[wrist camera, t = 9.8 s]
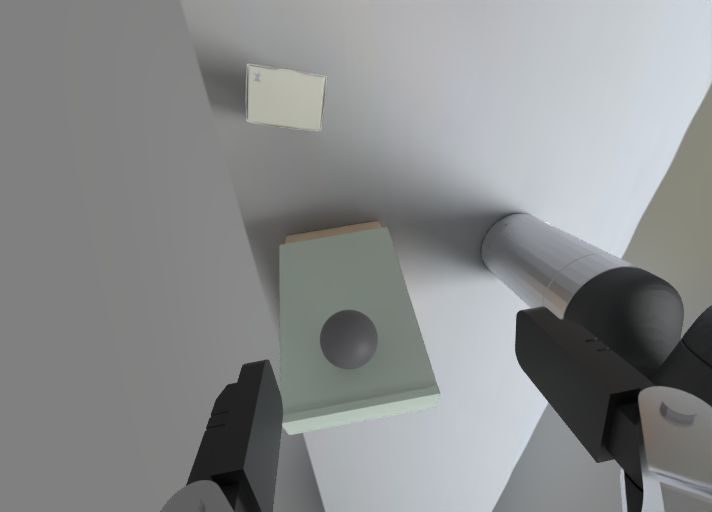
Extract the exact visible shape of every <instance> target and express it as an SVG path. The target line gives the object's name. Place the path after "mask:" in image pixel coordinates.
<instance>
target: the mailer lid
mask: <svg viewBox="0 0 712 512" xmlns="http://www.w3.org/2000/svg"><path fill="white" fill-rule="evenodd" d="M279 292H280V394H281V398H282V404H283V421H282V427H283V428H284V429H285V430H286V431H287V433H288V434H289V435H292V434H297V433H303V432H308V431H313V430H318V429H324V428H329V427H334V426H339V425H345V424H350V423H355V422H360V421H366V420H371V419H376V418H381V417H387V416H392V415H397V414H402V413H408V412H413V411H418V410H423V409H429V408H434V407H437V403H438V400H439V396H440V391H439V388H438V386H437V383H436V380H435V376H434V373H433V370H432V367H431V364H430V360H429V357H428V354H427V351H426V348H425V344H424V341H423V338H422V335H421V332H420V328H419V325H418V322H417V319H416V316H415V313H414V309H413V306H412V303H411V300H410V297H409V293H408V290H407V287H406V284H405V281H404V277H403V274H402V271H401V268H400V265H399V261H398V258H397V255H396V252H395V249H394V246H393V242H392V239H391V236H390V233H389V230H388V227H383V228H377V229H371V230H365V231H359V232H353V233H347V234H341V235H336V236H330V237H324V238H318V239H312V240H306V241H300V242H294V243H288V244H282V245H279Z"/></svg>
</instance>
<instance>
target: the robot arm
mask: <svg viewBox="0 0 712 512" xmlns="http://www.w3.org/2000/svg"><path fill="white" fill-rule="evenodd" d="M481 251H482V259H483V262H484V263H485V265H486V267H487V268H488V269H489V270H490V271H491V272H492V273H494V274H495V275H496V276H497V277H498V278H499V279H500V280H501V281H502V282H503V283H504V284H505V285H506V286H507V287H509V288H510V289H511V290H512V291H513V292H514V293H515V294H516V295H517V296H518V297H519V298H520V299H522V300H523V301H524V302H525V303H526V304H527V305H528V306H529V307H530V308H531V309H526V310H521V311H519V312H518V313H517V317H516V342H515V352H516V357H517V360H518V362H519V364H520V366H521V368H522V369H523V371H524V372H525V373H526V374H527V376H528V377H529V378H530V379H531V381H532V382H533V383H534V384H535V386H536V387H537V388H538V389H539V391H540V392H541V393H542V394H543V396H544V397H545V398H546V400H547V401H548V402H549V403H550V404H551V406H552V407H553V408H554V410H555V411H556V412H557V413H558V414H559V416H560V417H561V418H562V420H563V421H564V422H565V423H566V425H567V426H568V427H569V428H570V429H571V431H572V432H573V433H574V434H575V436H576V437H577V438H578V440H579V441H580V442H581V443H582V445H583V446H584V447H585V448H586V449H587V451H588V452H589V453H590V455H591V456H592V457H593V458H594V460H595V461H596V462H597V463H599V462H604V461H608V460H613V459H615V460H616V461H617V463H618V464H619V465H620V466H621V467H622V468H621V472H620V481H621V495H622V508H623V512H712V306H710V307H709V308H707V309H706V310H705V311H704V312H703V313H702V314H701V315H700V316H699V317H698V318H697V319H696V321H695V322H694V323H693V325H692V326H691V327H690V328H689V329H688V331H687V332H686V333H685V335H684V336H683V338H682V339H681V331H682V326H683V319H684V308H683V303H682V300H681V297H680V295H679V294H678V292H677V291H676V290H675V288H674V287H672V286H671V285H670V284H669V283H668V282H666V281H665V280H663V279H661V278H659V277H657V276H655V275H653V274H651V273H649V272H647V271H645V270H643V269H640V268H638V267H636V266H634V265H632V264H630V263H628V262H626V261H624V260H622V259H620V258H618V257H616V256H613V255H611V254H609V253H607V252H605V251H603V250H601V249H599V248H597V247H595V246H593V245H591V244H589V243H587V242H585V241H583V240H581V239H579V238H576V237H574V236H572V235H570V234H568V233H566V232H564V231H562V230H560V229H558V228H556V227H554V226H552V225H550V224H548V223H546V222H544V221H542V220H540V219H538V218H536V217H534V216H531V215H528V214H522V213H520V214H513V215H509V216H506V217H505V218H503V219H501V220H499V221H498V222H497V223H495V224H494V225H493V226H492V227H491V228H490V230H489V231H488V233H487V234H486V236H485V238H484V240H483V243H482V249H481ZM680 339H681V340H680ZM282 421H283V404H282V398H281V394H280V391H279V388H278V385H277V382H276V379H275V376H274V373H273V370H272V367H271V365H270V362H269V360H263V361H257V362H252V363H247V364H244V365H243V366H242V368H241V372H240V375H239V378H238V382H237V383H233V384H228V385H227V386H226V387H225V389H224V390H223V391H222V393H221V394H220V395H219V396H218V398H217V399H216V401H215V404H214V407H213V410H212V413H211V418H209V421H208V424H207V427H206V429H207V430H206V431H205V433H204V436H203V439H202V442H201V445H200V447H199V450H198V453H197V456H196V459H195V462H194V465H193V467H192V470H191V473H190V476H189V479H188V482H187V484H186V486H185V487H184V488H182V489H181V490H179V491H178V492H177V493H175V494H174V495H173V496H172V497H171V498H170V499H169V500H168V501H167V503H166V504H165V505H164V507H163V508H162V510H161V511H160V512H273V504H274V494H275V485H276V476H277V467H278V458H279V447H280V439H281V430H282Z"/></svg>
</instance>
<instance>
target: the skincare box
mask: <svg viewBox="0 0 712 512" xmlns="http://www.w3.org/2000/svg"><path fill="white" fill-rule="evenodd" d="M326 85H327V77H326V76H325V75H319V74H314V73H308V72H302V71H296V70H289V69H283V68H276V67H269V66H263V65H256V64H250V63H247V65H246V121H247V122H249V123H254V124H259V125H265V126H271V127H278V128H287V129H295V130H305V131H316V132H320V131H321V128H322V120H323V113H324V105H325V96H326Z"/></svg>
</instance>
